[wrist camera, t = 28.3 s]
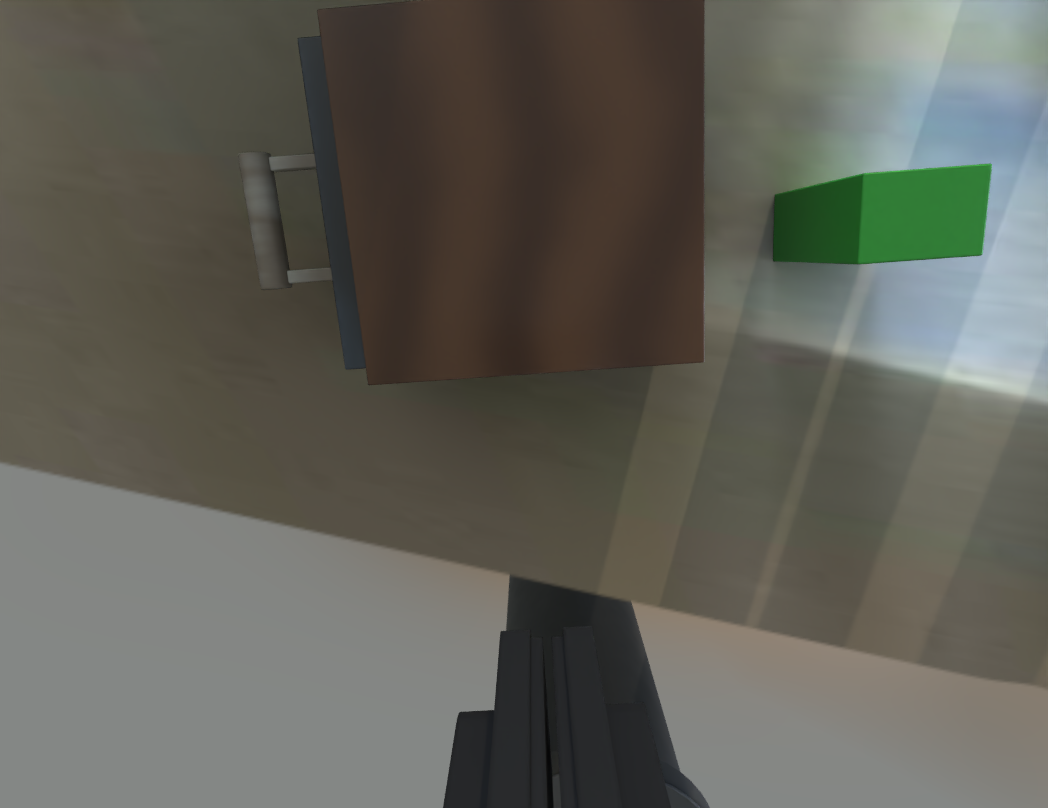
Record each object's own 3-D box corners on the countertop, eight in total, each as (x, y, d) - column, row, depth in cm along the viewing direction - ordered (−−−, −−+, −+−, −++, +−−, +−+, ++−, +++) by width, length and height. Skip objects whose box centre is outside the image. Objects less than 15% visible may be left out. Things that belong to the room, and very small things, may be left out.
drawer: (306, 352, 34) (252, 376, 27) (264, 90, 31) (192, 46, 24) (623, 329, 33) (646, 349, 27) (615, 61, 30) (639, 8, 24)
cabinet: (406, 353, 35) (368, 385, 26) (373, 73, 31) (316, 8, 23) (662, 335, 34) (704, 362, 26) (657, 50, 31) (704, -25, 23)
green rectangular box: (772, 261, 33) (857, 264, 25) (774, 194, 33) (863, 173, 24) (864, 254, 33) (983, 255, 25) (868, 187, 32) (993, 163, 24)
